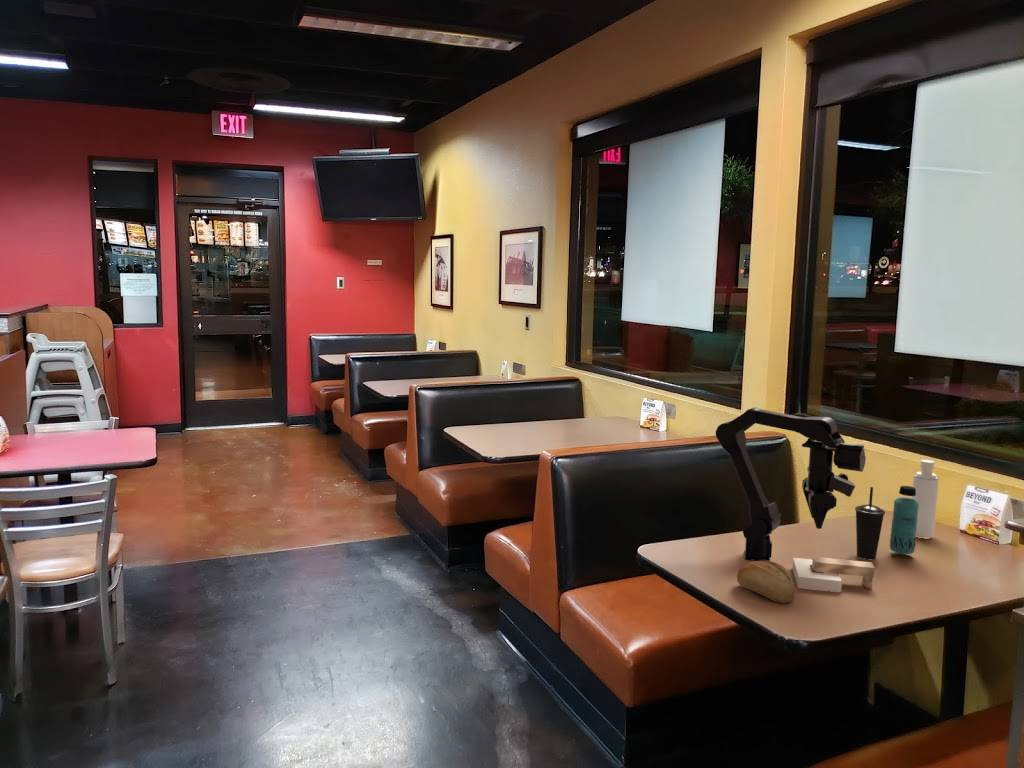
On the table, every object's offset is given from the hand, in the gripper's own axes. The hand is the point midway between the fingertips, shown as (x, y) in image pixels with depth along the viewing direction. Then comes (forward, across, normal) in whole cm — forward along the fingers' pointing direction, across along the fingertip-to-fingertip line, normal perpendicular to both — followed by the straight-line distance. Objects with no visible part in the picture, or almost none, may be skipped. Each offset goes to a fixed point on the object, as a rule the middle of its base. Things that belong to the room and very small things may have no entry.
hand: (816, 523), depth 200 cm
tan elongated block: (+13, -7, -6) cm, 16 cm away
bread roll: (+13, -20, +14) cm, 28 cm away
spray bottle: (+13, +41, -36) cm, 56 cm away
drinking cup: (+13, +16, -16) cm, 26 cm away
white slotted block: (+13, -7, 0) cm, 15 cm away
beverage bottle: (+13, +20, -26) cm, 35 cm away
